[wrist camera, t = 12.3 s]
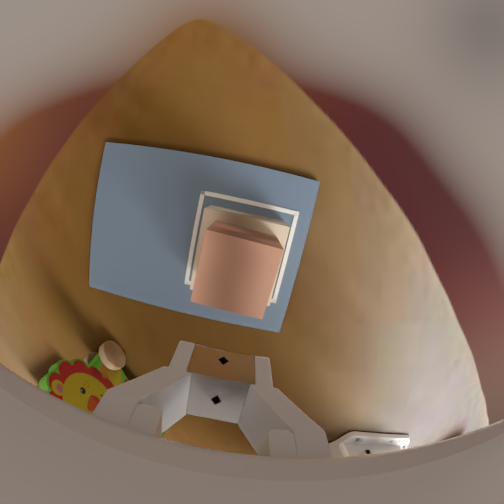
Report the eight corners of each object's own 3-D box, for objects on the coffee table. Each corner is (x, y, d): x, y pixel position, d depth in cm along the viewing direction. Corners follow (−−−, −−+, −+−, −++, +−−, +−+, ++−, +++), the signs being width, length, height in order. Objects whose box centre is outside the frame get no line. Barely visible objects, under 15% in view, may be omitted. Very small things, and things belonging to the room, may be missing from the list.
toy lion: (180, 408, 32) (155, 497, 18) (153, 417, 33) (124, 498, 18) (101, 319, 29) (31, 394, 14) (78, 335, 30) (14, 403, 15)
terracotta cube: (276, 236, 22) (283, 249, 17) (259, 292, 23) (262, 319, 18) (215, 220, 22) (206, 229, 17) (202, 278, 23) (190, 301, 18)
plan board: (318, 181, 26) (320, 181, 25) (278, 329, 29) (279, 332, 29) (109, 142, 25) (105, 141, 24) (92, 283, 28) (88, 286, 27)
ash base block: (284, 221, 26) (290, 227, 22) (266, 289, 28) (269, 306, 24) (211, 205, 26) (204, 208, 22) (197, 274, 27) (189, 289, 23)
